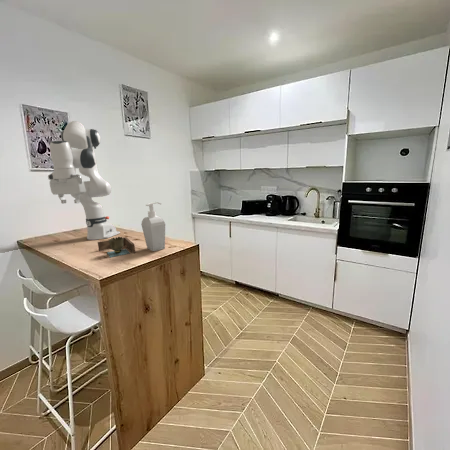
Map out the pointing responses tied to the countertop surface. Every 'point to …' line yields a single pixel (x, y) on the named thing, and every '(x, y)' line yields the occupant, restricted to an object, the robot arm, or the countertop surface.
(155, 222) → the soap bottle
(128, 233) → the countertop surface
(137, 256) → the countertop surface
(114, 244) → the cup
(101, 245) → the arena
